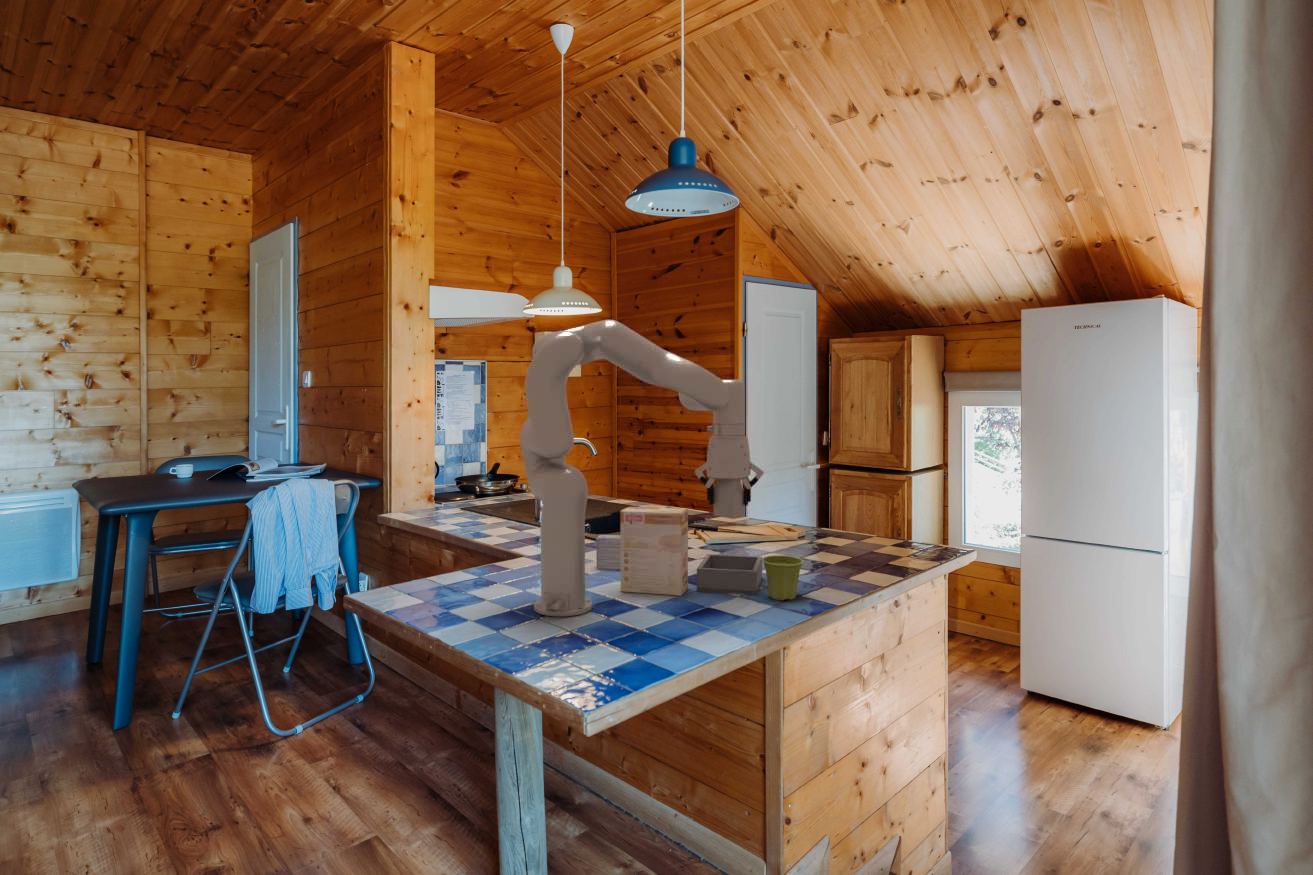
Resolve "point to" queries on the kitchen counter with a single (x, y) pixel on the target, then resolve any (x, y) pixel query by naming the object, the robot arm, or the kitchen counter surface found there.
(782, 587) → the plant pot
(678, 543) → the coffeecake box
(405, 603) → the kitchen counter surface
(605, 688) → the kitchen counter surface
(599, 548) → the medicine box
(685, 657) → the kitchen counter surface
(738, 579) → the walled box
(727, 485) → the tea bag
